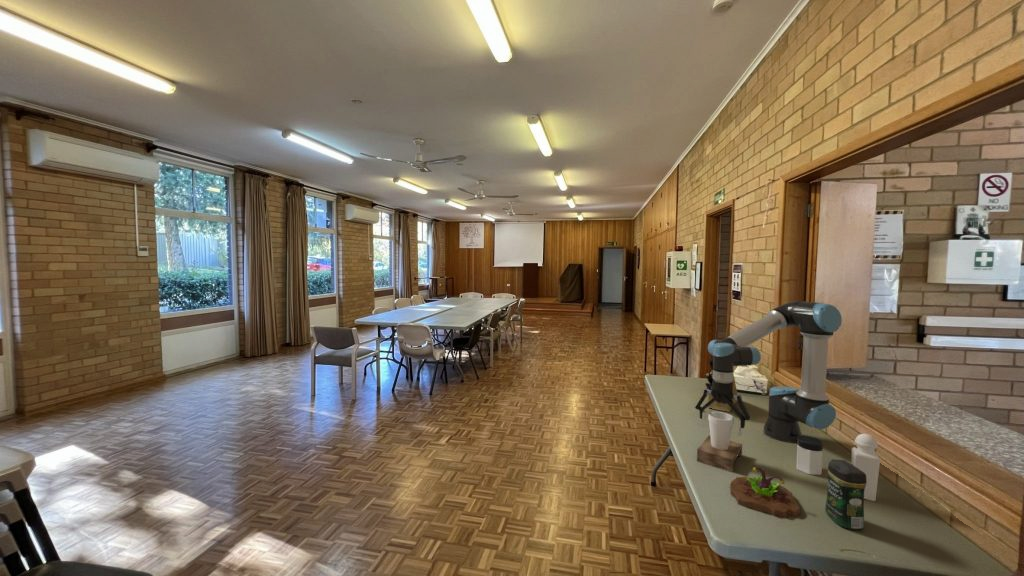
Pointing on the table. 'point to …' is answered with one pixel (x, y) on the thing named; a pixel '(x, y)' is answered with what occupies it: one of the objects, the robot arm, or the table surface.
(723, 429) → the foam cup
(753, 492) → the plant
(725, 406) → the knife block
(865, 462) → the soap dispenser
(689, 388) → the table surface
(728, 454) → the walnut shelf stand
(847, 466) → the coffee jar
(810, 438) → the jar
